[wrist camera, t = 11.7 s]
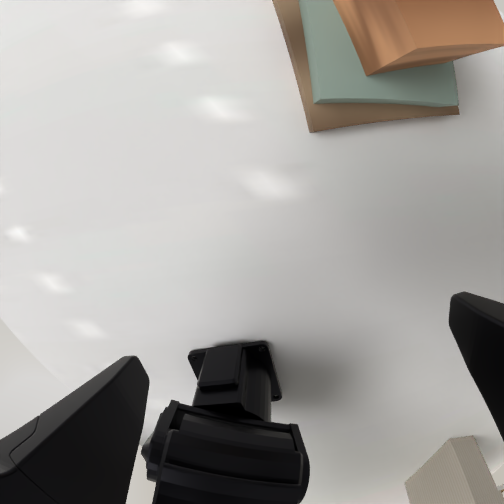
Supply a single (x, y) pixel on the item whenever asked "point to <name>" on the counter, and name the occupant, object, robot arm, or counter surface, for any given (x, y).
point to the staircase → (455, 477)
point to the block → (419, 31)
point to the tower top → (351, 71)
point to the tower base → (337, 112)
